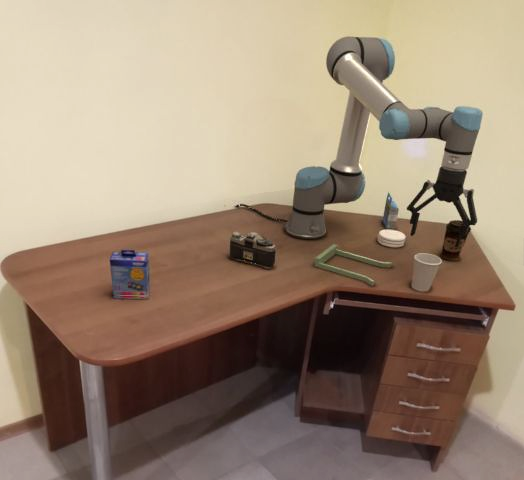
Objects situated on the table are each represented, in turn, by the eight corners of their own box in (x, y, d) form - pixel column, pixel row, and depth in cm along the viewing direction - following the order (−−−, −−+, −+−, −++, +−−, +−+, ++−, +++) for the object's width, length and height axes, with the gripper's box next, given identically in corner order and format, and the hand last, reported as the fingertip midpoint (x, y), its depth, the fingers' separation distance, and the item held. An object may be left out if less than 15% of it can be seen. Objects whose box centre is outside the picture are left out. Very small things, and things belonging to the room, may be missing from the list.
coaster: (374, 244, 192) (376, 235, 190) (380, 235, 200) (381, 227, 198) (401, 250, 190) (403, 241, 188) (405, 241, 197) (408, 232, 195)
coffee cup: (462, 264, 183) (473, 229, 176) (438, 260, 184) (448, 225, 177) (460, 254, 190) (470, 220, 183) (437, 251, 191) (446, 217, 184)
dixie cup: (401, 285, 166) (408, 255, 160) (418, 279, 170) (425, 250, 164) (422, 295, 160) (430, 266, 155) (439, 289, 165) (447, 260, 159)
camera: (282, 260, 175) (285, 231, 169) (269, 271, 167) (272, 242, 161) (240, 249, 180) (242, 221, 174) (226, 259, 172) (227, 230, 166)
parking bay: (312, 267, 171) (313, 259, 170) (334, 250, 185) (335, 242, 183) (372, 286, 163) (374, 277, 162) (391, 266, 177) (393, 258, 175)
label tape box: (395, 229, 207) (402, 199, 200) (385, 228, 207) (391, 198, 200) (391, 221, 214) (397, 192, 208) (381, 220, 214) (387, 191, 208)
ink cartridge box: (112, 299, 144) (107, 250, 136) (115, 290, 149) (111, 242, 141) (148, 300, 145) (146, 252, 137) (150, 291, 150) (148, 244, 142)
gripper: (406, 162, 147) (391, 233, 159) (497, 179, 138) (474, 254, 149) (413, 157, 153) (398, 226, 164) (502, 174, 143) (479, 246, 155)
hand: (434, 240), depth 157 cm, fingers open, 13 cm apart
